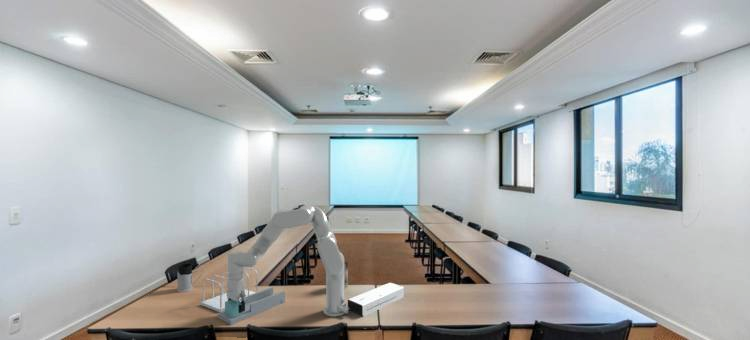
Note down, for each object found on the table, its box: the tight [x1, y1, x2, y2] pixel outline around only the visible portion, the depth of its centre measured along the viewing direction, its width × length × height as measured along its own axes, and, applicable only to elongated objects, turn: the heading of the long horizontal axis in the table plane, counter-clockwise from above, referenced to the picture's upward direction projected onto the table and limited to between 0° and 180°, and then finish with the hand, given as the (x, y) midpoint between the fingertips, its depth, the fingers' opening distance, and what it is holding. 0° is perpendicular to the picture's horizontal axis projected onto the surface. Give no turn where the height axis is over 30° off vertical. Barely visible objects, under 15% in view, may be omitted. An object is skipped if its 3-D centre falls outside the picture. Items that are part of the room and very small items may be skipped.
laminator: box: [347, 282, 405, 317], centre depth 182 cm, size 34×12×6 cm, turn 136°
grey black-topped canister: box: [176, 263, 204, 293], centre depth 204 cm, size 9×14×15 cm, turn 118°
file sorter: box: [200, 267, 259, 313], centre depth 186 cm, size 25×17×16 cm
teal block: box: [224, 300, 243, 317], centre depth 166 cm, size 6×6×6 cm
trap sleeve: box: [217, 286, 286, 326], centre depth 174 cm, size 12×32×6 cm, turn 144°
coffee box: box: [344, 260, 349, 289], centre depth 204 cm, size 9×6×16 cm
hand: (236, 309), depth 167 cm, fingers open, 9 cm apart
